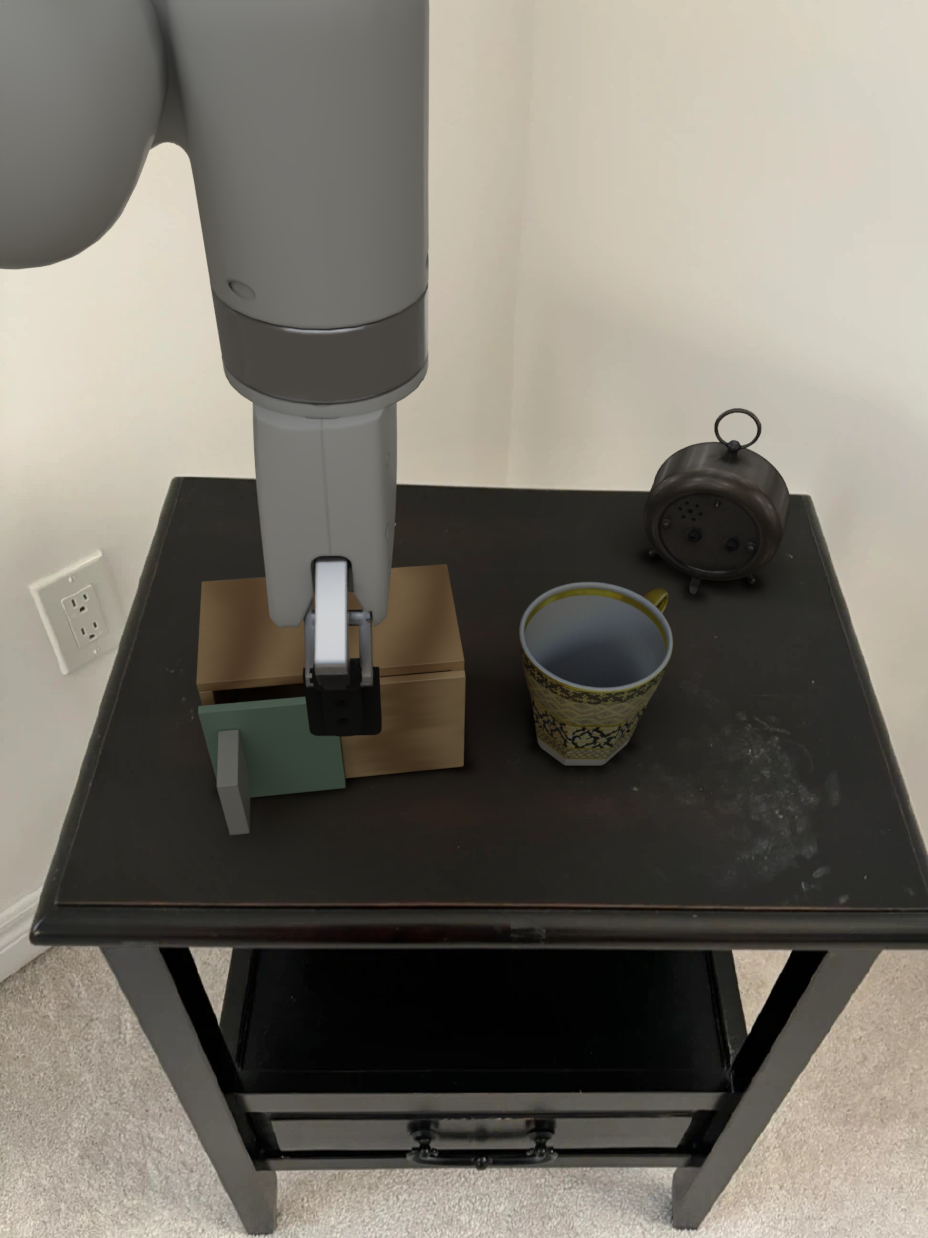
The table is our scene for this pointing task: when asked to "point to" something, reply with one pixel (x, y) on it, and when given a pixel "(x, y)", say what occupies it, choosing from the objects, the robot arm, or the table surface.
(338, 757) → the sliding door
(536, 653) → the ceramic cup
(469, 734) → the table surface
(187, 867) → the table surface
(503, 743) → the table surface
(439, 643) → the cabinet
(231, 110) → the robot arm
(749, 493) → the alarm clock
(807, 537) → the table surface
